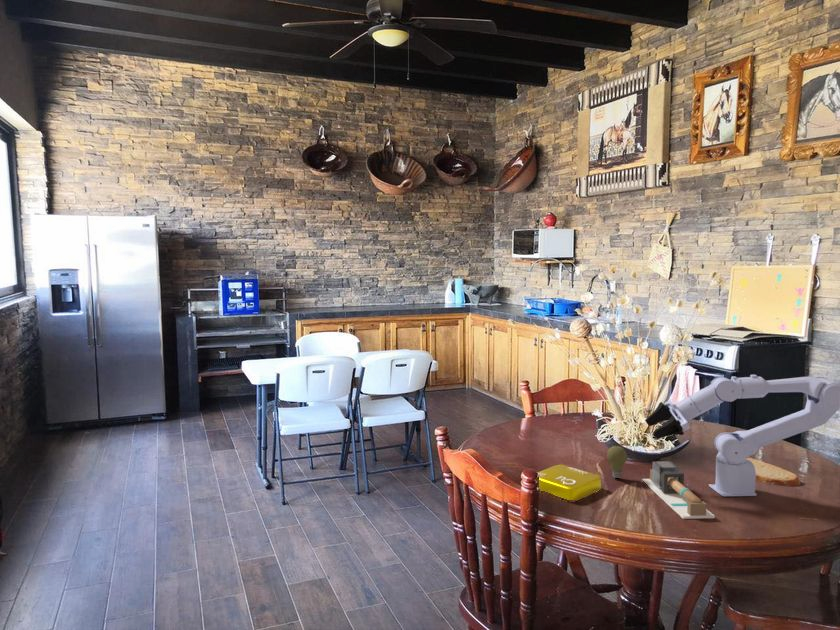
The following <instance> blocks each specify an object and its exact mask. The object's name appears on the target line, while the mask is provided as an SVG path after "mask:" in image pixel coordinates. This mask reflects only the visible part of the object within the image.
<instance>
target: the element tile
mask: <svg viewBox="0 0 840 630" xmlns="http://www.w3.org/2000/svg"><path fill="white" fill-rule="evenodd" d="M536 473H538V475H539V489H540V491H545V492H548V493H551V494H553V495H555V496H558V497H561V498H564V499H567V500H578V499H580V498H582V497H584V496H587V495H589V494H591V493H594V492H596V491H598V490H600V489H601V490H602V487H601V486H602V477H601V475H599V474H597V473H596V474H595V473H592V472H589V471H586V470H583V469H579V468H575V467H572V466H568V465H565V464H560V463H559V464H557V465H556V464H555V465H553V466H551V467H548V468H546V469H544V470H543V469H542V470H541V471H538V472H536ZM601 490H600V491H601Z"/></svg>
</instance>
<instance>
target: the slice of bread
mask: <svg viewBox="0 0 840 630" xmlns="http://www.w3.org/2000/svg"><path fill="white" fill-rule="evenodd" d="M746 460H749V461H751V462H752V463H753V465H754V467H755V471H756V480H755V482H758V483H764V484H769V485H773V486H774V485H775V486H785V487H795V486H796V487H797V486H800V485H801V482H800V480H799V477H798V475H796V473H793V472H791V471H789V470H786V469H784V468H782V467H779V466H777V465H773V464H772V463H767V462H764V461H762V460H758V459H755V458H753V457H750V456H749V457H748V458H747V459H746Z"/></svg>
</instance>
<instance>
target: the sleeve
mask: <svg viewBox="0 0 840 630" xmlns="http://www.w3.org/2000/svg"><path fill="white" fill-rule="evenodd" d="M651 466H652V482H653V483H654V484H655V485H656V486H657V487H658V488H662V472H679V467H678V465H676V464H675V463H673V462H672V461H669V460H667V461H663V460H662V461H652V465H651ZM673 478H675V479H676V480H677V481H678V477H673ZM668 488H672V487H671V486H670V485H668Z"/></svg>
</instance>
